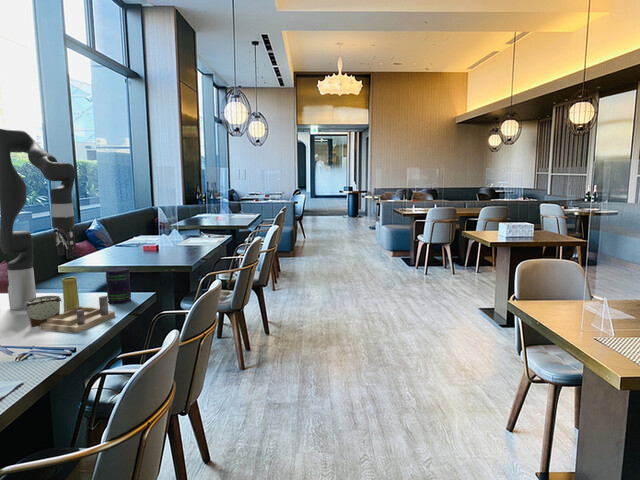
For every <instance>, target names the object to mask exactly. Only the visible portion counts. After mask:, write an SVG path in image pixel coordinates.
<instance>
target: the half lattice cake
mask: <svg viewBox="0 0 640 480" xmlns="http://www.w3.org/2000/svg"><path fill="white" fill-rule="evenodd" d="M61 302H63V301H62V298H61V297H60V296H59V295H42V296H36V298H32V299H29V300H27V301H26V303H25V307H27V309H26V311H27V314H28V319H29V324H30V328H31V329H34V328H38V327H41V325H40V324H42V323H45V322H47V319H48V318H51V317H53V316H56V315H59V314H61V313H60V311H61Z"/></svg>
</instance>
